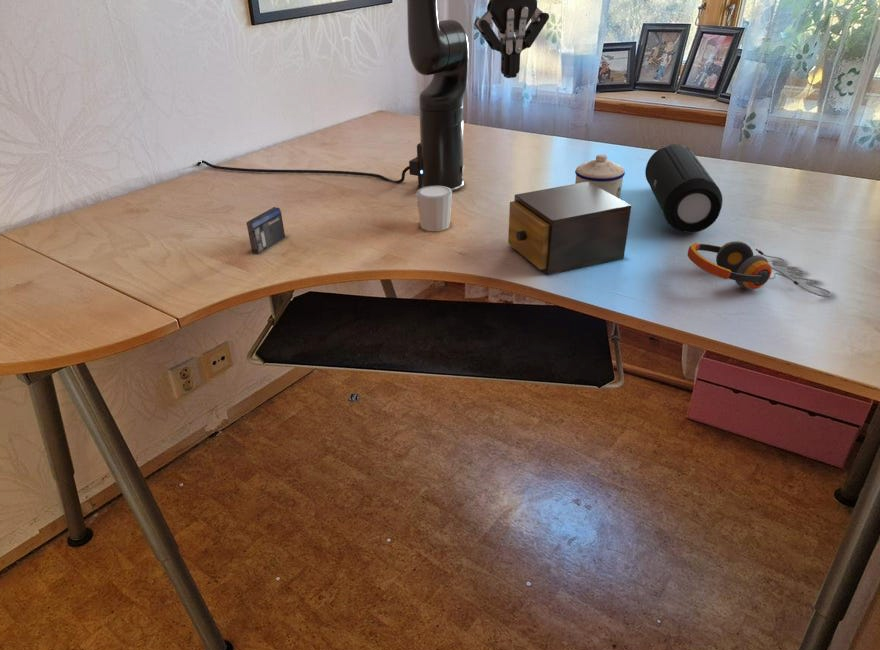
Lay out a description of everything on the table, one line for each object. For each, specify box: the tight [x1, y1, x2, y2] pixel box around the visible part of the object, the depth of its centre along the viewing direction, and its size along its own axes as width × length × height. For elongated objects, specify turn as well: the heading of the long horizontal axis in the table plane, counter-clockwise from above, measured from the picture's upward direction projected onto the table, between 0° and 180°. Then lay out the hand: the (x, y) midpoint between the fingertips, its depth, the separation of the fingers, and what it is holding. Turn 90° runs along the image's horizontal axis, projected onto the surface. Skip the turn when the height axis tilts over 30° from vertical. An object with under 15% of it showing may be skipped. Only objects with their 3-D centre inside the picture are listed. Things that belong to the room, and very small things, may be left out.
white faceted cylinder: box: [416, 186, 453, 232], centre depth 127 cm, size 7×7×7 cm
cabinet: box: [513, 182, 632, 276], centre depth 113 cm, size 15×13×10 cm
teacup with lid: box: [574, 153, 626, 199], centre depth 127 cm, size 12×9×12 cm
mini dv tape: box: [245, 206, 286, 254], centre depth 124 cm, size 8×2×6 cm, turn 151°
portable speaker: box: [644, 144, 723, 233], centre depth 125 cm, size 26×10×10 cm, turn 172°
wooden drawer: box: [507, 200, 550, 271], centre depth 112 cm, size 15×12×8 cm
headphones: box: [687, 240, 833, 298], centre depth 102 cm, size 17×5×20 cm
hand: (509, 76), depth 112 cm, fingers closed
